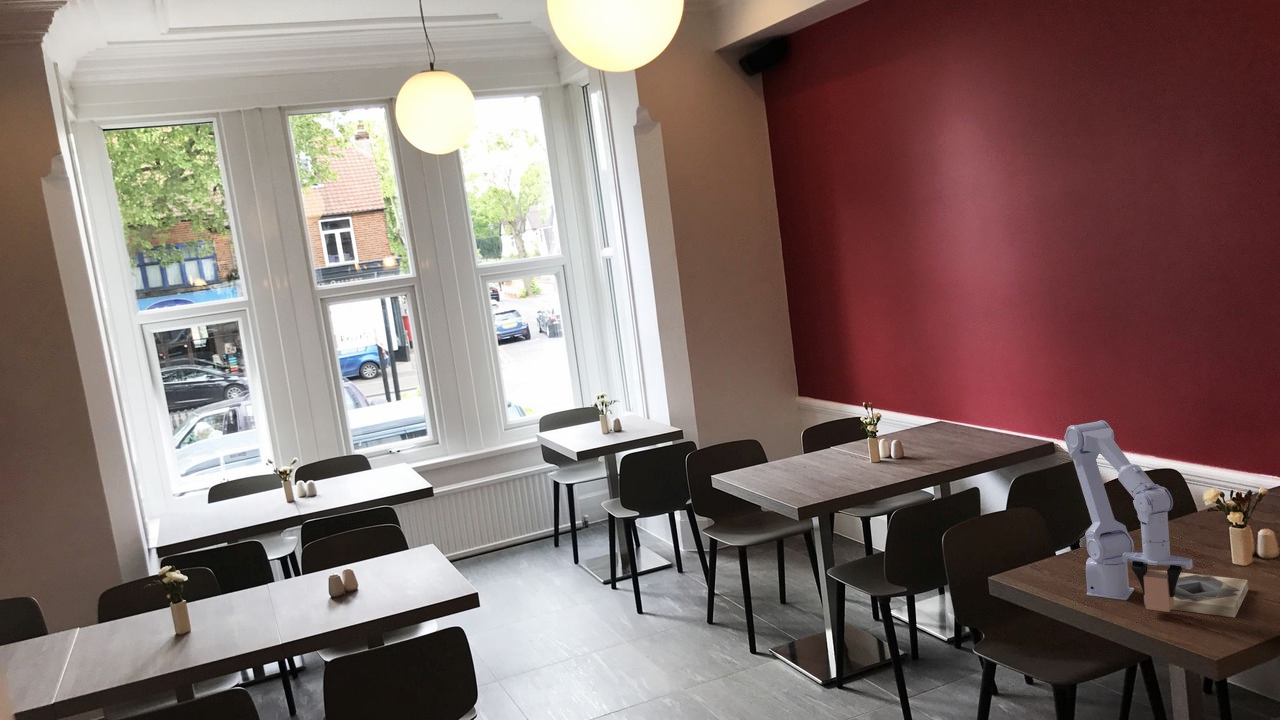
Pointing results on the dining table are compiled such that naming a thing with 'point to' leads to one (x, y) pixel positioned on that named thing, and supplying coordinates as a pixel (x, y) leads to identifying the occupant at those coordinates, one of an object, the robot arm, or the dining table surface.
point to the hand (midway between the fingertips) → (1159, 594)
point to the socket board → (1209, 594)
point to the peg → (1157, 591)
